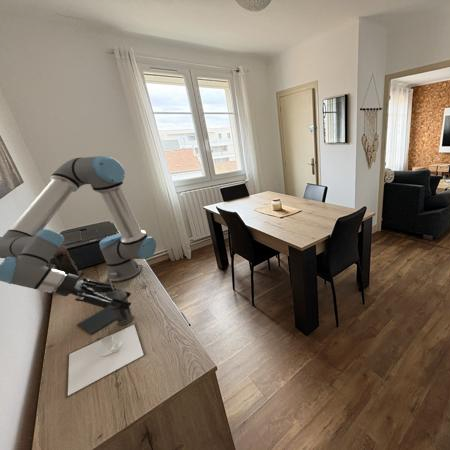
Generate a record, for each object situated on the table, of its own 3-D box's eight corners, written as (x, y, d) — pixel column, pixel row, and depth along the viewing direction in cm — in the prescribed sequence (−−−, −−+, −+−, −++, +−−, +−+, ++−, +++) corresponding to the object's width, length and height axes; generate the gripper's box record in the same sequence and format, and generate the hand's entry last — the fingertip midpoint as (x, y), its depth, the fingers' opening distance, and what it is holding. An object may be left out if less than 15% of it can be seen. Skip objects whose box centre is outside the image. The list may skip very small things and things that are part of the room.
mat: (109, 306, 109) (109, 306, 109) (124, 314, 104) (124, 313, 104) (77, 324, 99) (77, 324, 99) (91, 334, 94) (91, 333, 94)
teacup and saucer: (126, 348, 86) (122, 340, 85) (98, 362, 82) (93, 353, 80) (122, 335, 93) (119, 326, 91) (96, 347, 88) (92, 338, 86)
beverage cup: (114, 330, 95) (95, 288, 88) (115, 319, 101) (98, 279, 94) (135, 322, 99) (119, 281, 91) (136, 312, 104) (120, 273, 97)
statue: (82, 272, 139) (68, 241, 132) (79, 278, 134) (64, 246, 126) (67, 276, 136) (52, 245, 129) (63, 282, 131) (47, 250, 123)
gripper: (59, 279, 92) (123, 296, 106) (45, 307, 76) (123, 323, 90) (71, 262, 92) (134, 281, 107) (60, 287, 77) (135, 306, 91)
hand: (129, 300), depth 98 cm, fingers closed on beverage cup, 7 cm apart
